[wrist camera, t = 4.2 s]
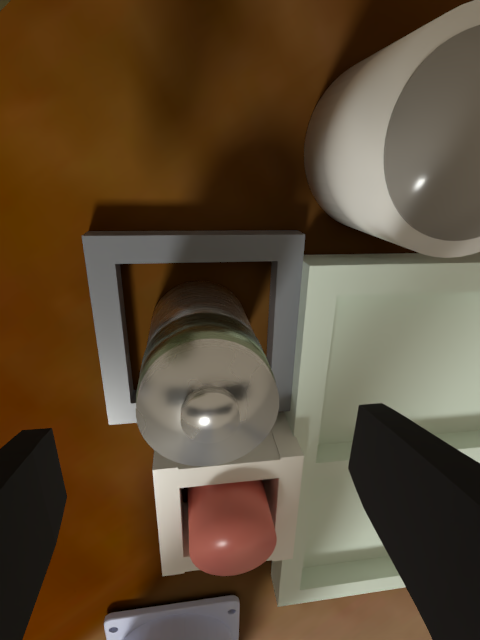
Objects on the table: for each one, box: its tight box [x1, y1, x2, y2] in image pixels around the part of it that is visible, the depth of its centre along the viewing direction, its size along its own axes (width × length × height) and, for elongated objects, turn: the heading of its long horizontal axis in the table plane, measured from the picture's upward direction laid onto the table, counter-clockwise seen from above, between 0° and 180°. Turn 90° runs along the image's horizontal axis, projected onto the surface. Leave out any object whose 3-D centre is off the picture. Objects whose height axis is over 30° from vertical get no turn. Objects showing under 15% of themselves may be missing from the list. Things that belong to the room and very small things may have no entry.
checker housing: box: [152, 412, 304, 576], centre depth 18 cm, size 6×6×3 cm
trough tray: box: [271, 252, 480, 607], centre depth 19 cm, size 20×14×2 cm
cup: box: [304, 0, 480, 258], centre depth 12 cm, size 6×6×5 cm
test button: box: [188, 480, 277, 576], centre depth 17 cm, size 4×4×4 cm
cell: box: [136, 280, 279, 466], centre depth 13 cm, size 4×4×6 cm
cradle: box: [82, 230, 305, 425], centre depth 15 cm, size 8×8×1 cm
